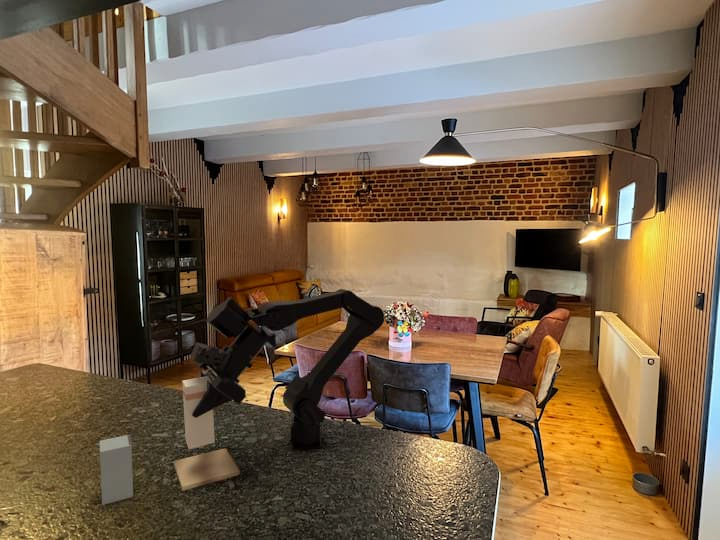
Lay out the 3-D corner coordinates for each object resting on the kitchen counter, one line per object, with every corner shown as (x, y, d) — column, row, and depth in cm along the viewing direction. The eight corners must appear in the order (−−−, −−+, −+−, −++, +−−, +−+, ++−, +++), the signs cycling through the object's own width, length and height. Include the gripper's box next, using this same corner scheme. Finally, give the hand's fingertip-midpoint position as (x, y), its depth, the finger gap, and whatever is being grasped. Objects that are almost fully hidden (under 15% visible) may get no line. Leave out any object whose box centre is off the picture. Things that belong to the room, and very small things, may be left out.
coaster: (225, 451, 98) (225, 448, 98) (239, 474, 88) (239, 470, 88) (173, 464, 92) (173, 461, 92) (182, 490, 83) (182, 486, 82)
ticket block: (131, 483, 85) (129, 433, 84) (133, 496, 81) (131, 444, 80) (101, 491, 82) (99, 439, 81) (102, 505, 78) (99, 451, 77)
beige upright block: (210, 434, 92) (207, 375, 91) (214, 442, 89) (211, 382, 87) (185, 440, 90) (182, 380, 88) (188, 449, 86) (185, 387, 85)
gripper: (204, 320, 97) (153, 377, 92) (226, 337, 81) (166, 407, 76) (240, 349, 102) (194, 405, 97) (268, 370, 86) (214, 438, 81)
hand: (191, 412), depth 88 cm, fingers closed on beige upright block, 4 cm apart
